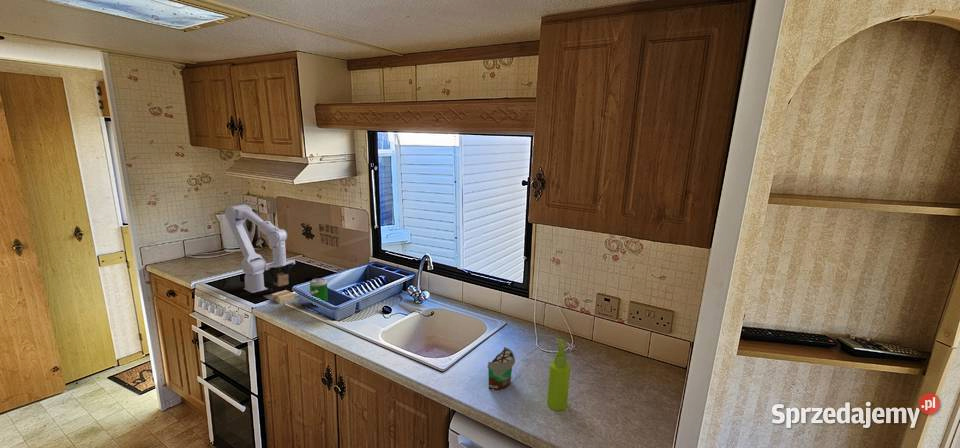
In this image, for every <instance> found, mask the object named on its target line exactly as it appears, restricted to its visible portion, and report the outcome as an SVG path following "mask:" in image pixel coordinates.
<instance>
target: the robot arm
mask: <svg viewBox="0 0 960 448" xmlns="http://www.w3.org/2000/svg"><path fill="white" fill-rule="evenodd" d="M224 216H225V218H226V220H227V222H228V226H229V228H230V230H231V231H232V234H233V236H234V240H235V241H236V242H237V245H238V247H239V249H240V251H241V254H242V256H243V259H242V260H241V262H240V263H241V267H242V268H241V269H242V271H243V273H244V288H243V290H246V291H247V292H249V293H252V294H253V293H257V292H262V291H265V290H268V287H265V280H264V279H265V278H264V272H265V271H268V273H269V274H270V276H271V279H272V280H273V283H274V282H275V283H277V274H278V269H276V268H282V269H283V273H286V274H288V278H289V277H290V274H291V271H292V269H293V265H296V260H295V259H290V260H289V259H288V260H287V253H286V252H287V251H286V250H287V249H286V240H287V239H288V232H287V231H286V230H285V229H284V228H279V227H277V226H276V225H274V224H273V223H272V222H271V221H270V220H269V221H268V220H265V221H264V220H263V219H262V218H261V217H260V216H259V215H258V214H257V213H255V212H254V211H253V208H252V207H251V206H249V204H246V203H243V204H239V205H232V206H227V207H226V208H225V212H224ZM246 220H248V221H249V222H252V224H254V225H256V226H257V227H258V230H259V231H260V232H261V233H263V234H264V235H265V236H267V237H268V239H269V242H270V244H271V246H272V263H268V264H267V262H266V260H265V259H264V258H263V257H262V256H263V255H261V254H259V253H256V251H255V248H254V246H253V244H252V242H251V239H250V238H249V236H248V233H247V230H246V229H245V227H244V222H245V221H246Z"/></svg>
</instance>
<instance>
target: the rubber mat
mask: <svg viewBox="0 0 960 448" xmlns="http://www.w3.org/2000/svg"><path fill="white" fill-rule="evenodd" d="M285 290H286V289H284V290H280V291H279V292H281V291H285ZM277 292H278V291H276V292H273V293H270V294H266V295H263V297H264V298H266V299H267V300H270V301H272V294H274V293H277ZM295 295H296V294H295ZM295 295H294V300H298V299H299V298H298V297H297V296H298V295H297V296H295ZM272 302H274V303H276V304H278V305H280V303H278V302H276V301H274V300H273V301H272ZM287 302H289V301H287ZM287 302H286V303H287Z"/></svg>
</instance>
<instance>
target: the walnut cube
mask: <svg viewBox="0 0 960 448" xmlns="http://www.w3.org/2000/svg"><path fill="white" fill-rule="evenodd" d="M289 282H290V281H289V277H288V274H286V273H284V272H279V273H278V272H277V283H275V282H273V285H275V286H277V287H278V288H280V287H283V286H287V285H289V284H290V283H289Z"/></svg>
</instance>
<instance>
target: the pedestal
mask: <svg viewBox="0 0 960 448" xmlns="http://www.w3.org/2000/svg"><path fill="white" fill-rule="evenodd" d="M284 290H285V291H283V290H280V291H281V292H280V291H276V292H277V293H276V292H273V293H274V294H272V293H271V294H272V300H274V301H276V302H278V303H280V304H284V303H287V301H288V302H290V301H291V302H292V301H294V300H295V299H294V294H295V293H294V292H291V291H290V290H287V289H284ZM272 300H271V301H272ZM274 301H273V302H274ZM276 302H275V303H276ZM278 303H277V304H278ZM280 304H279V305H280Z"/></svg>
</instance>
